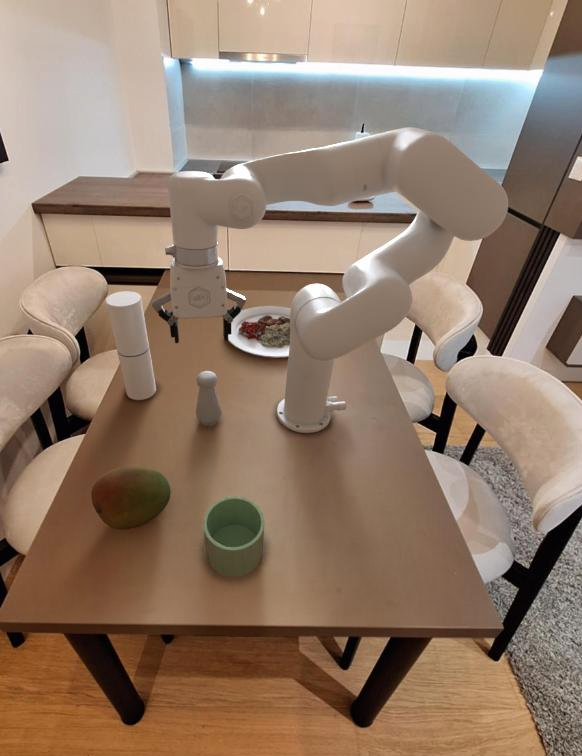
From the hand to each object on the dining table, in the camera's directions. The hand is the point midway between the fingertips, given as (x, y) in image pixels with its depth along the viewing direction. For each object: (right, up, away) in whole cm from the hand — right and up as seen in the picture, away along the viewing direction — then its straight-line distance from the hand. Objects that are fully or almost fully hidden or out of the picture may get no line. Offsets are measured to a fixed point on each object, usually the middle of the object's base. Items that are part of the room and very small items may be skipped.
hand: (201, 338), depth 79 cm
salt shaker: (0, -18, +12) cm, 22 cm away
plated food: (+16, +6, +44) cm, 47 cm away
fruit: (-11, -32, -7) cm, 35 cm away
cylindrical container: (-18, -11, +20) cm, 29 cm away
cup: (+7, -37, -12) cm, 39 cm away
